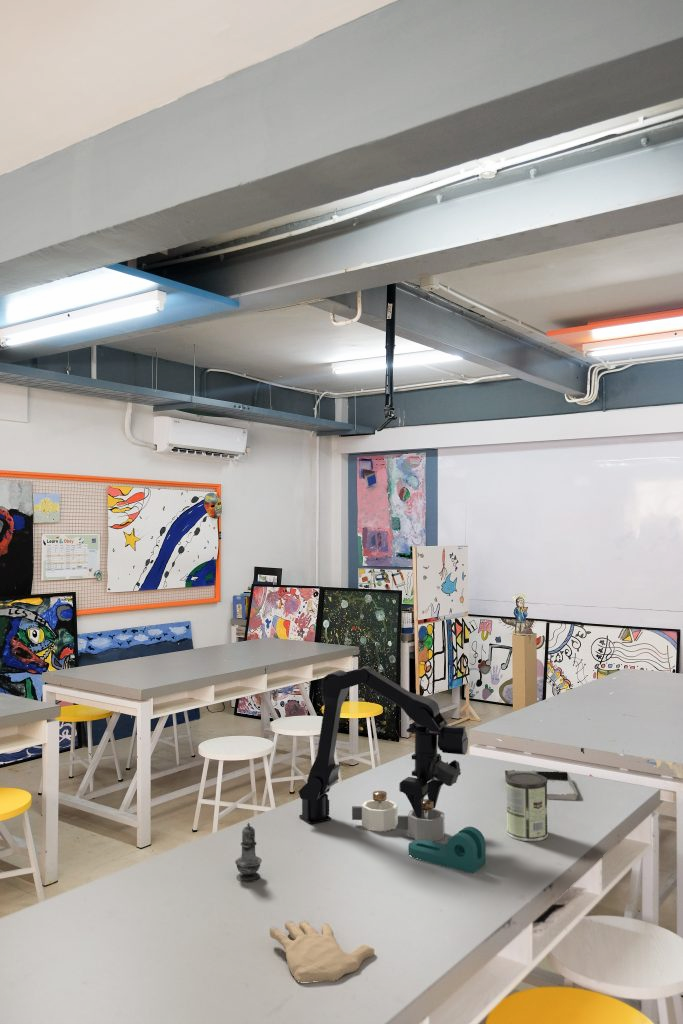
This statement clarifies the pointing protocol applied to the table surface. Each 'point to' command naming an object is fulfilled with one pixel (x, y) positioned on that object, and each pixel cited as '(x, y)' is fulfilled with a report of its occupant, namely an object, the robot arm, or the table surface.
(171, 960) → the table surface
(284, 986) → the table surface
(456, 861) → the bracket
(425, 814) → the coffee tamper
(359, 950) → the hand model
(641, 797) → the table surface
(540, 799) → the coffee can
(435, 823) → the grey octagonal hollow piece
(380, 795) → the brown and grey doorknob
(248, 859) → the salt shaker
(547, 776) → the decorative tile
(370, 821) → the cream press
